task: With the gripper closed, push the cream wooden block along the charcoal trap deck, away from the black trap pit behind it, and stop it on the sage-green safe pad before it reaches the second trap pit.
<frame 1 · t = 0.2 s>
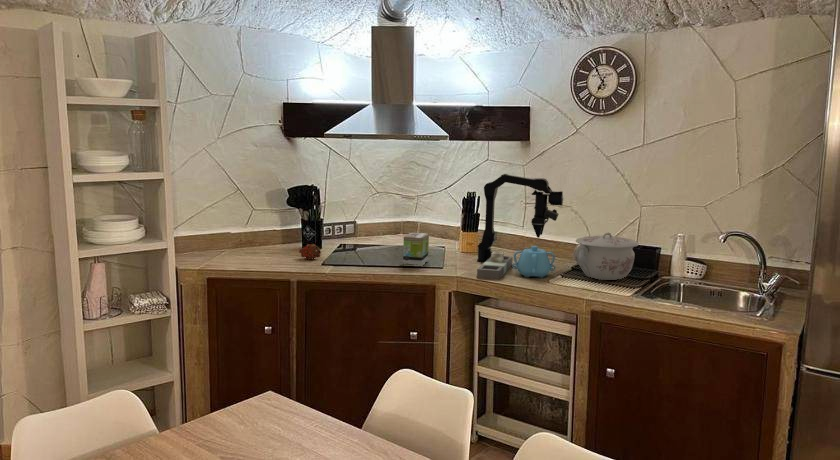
hand: (539, 236, 326), 14 cm above the worktop, fingers open, 9 cm apart
tea box: (415, 264, 327), on the worktop
chamber pot: (604, 278, 301), on the worktop
decorative pot: (533, 275, 305), on the worktop
cream block: (497, 261, 316), point 4 cm above the worktop, touching trap deck
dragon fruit: (310, 259, 336), on the worktop
trap deck: (495, 271, 313), on the worktop
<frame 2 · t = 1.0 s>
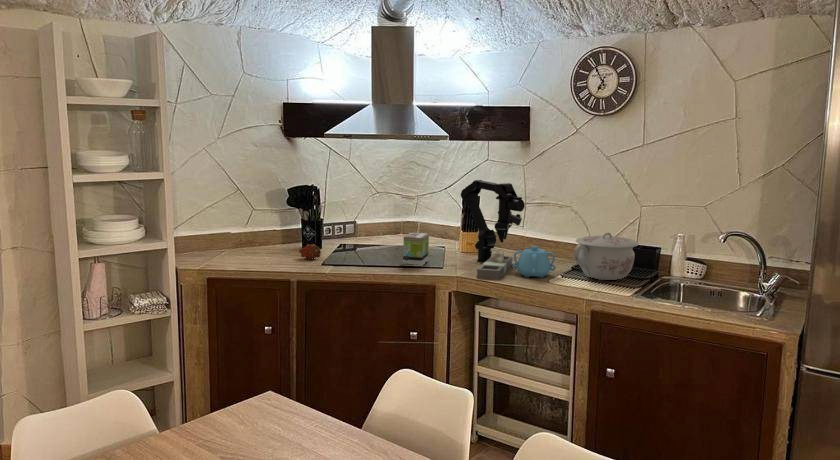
hand: (503, 240, 325), 12 cm above the worktop, fingers open, 9 cm apart
nothing on the worktop moved.
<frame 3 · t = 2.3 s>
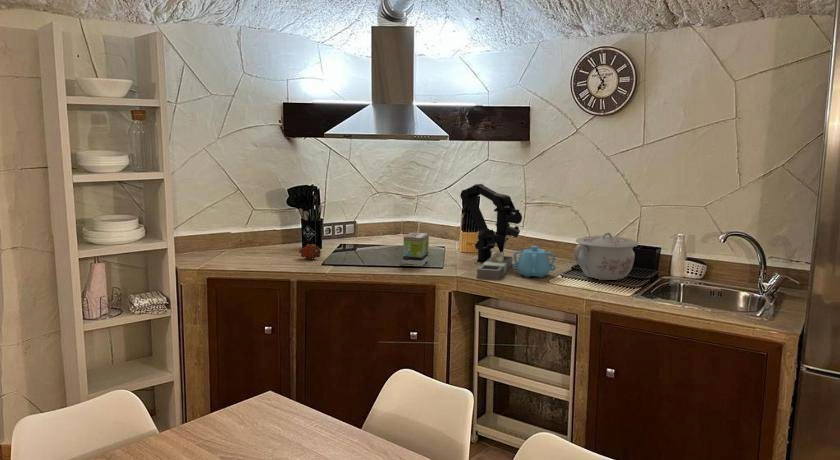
hand: (501, 252, 326), 6 cm above the worktop, fingers closed
nothing on the worktop moved.
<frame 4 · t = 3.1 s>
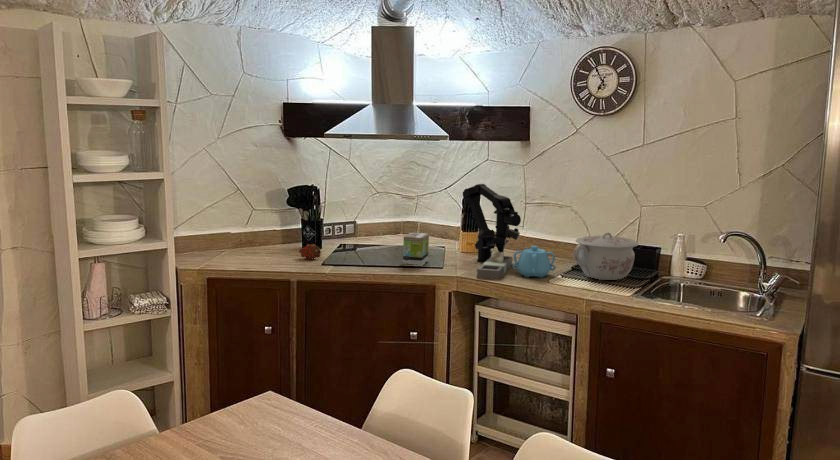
hand: (501, 255, 325), 5 cm above the worktop, fingers closed
nothing on the worktop moved.
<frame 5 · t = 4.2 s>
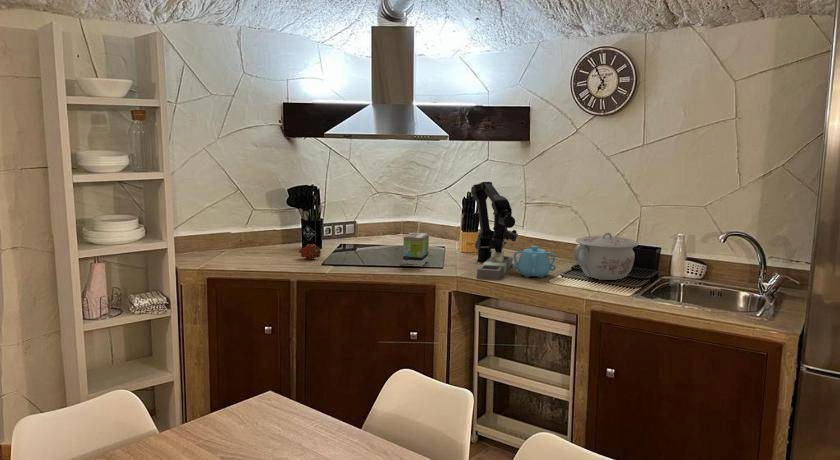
hand: (499, 257, 320), 5 cm above the worktop, fingers closed
cream block: (497, 261, 316), point 4 cm above the worktop, touching gripper, trap deck
everything else where it was.
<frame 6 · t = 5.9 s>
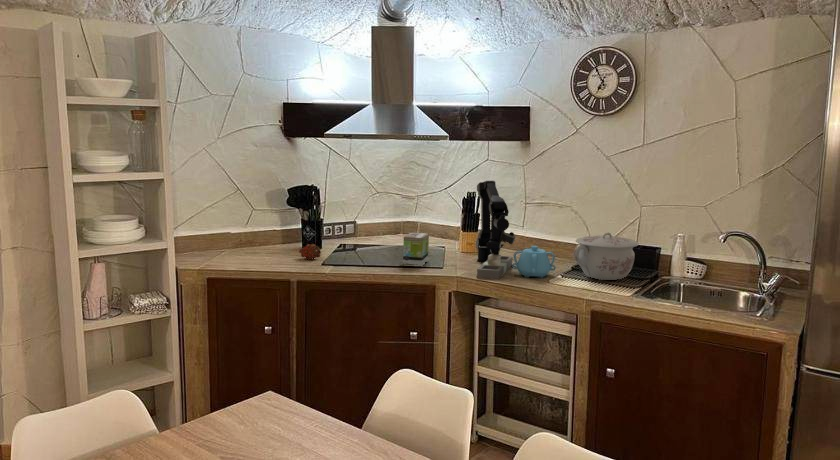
hand: (496, 260, 313), 5 cm above the worktop, fingers closed
cream block: (494, 263, 309), point 4 cm above the worktop, touching gripper, trap deck
everything else where it was.
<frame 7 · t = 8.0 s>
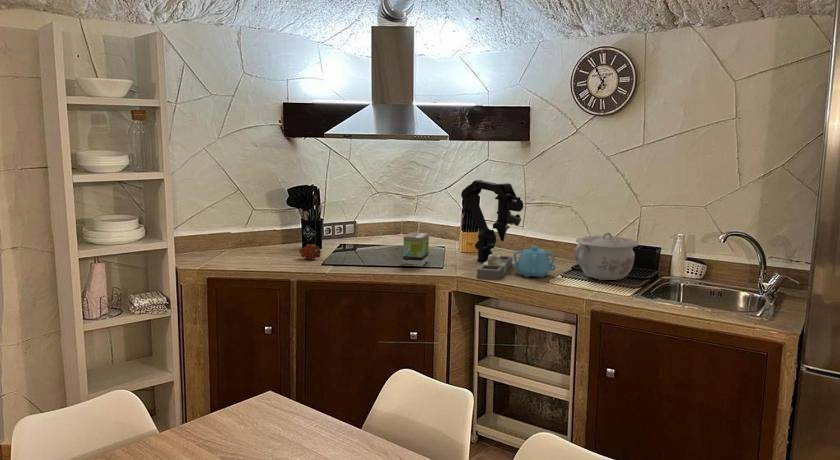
hand: (502, 241, 325), 12 cm above the worktop, fingers closed
cream block: (494, 263, 309), point 4 cm above the worktop, touching trap deck
everything else where it was.
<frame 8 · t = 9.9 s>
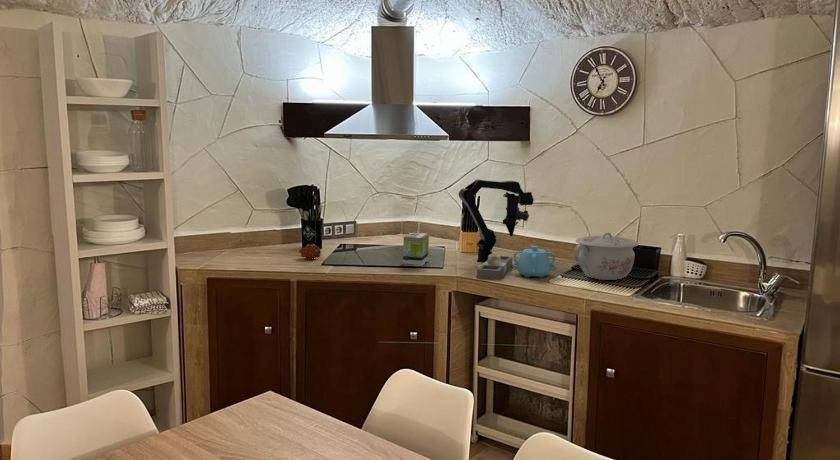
hand: (511, 236, 339), 12 cm above the worktop, fingers closed
nothing on the worktop moved.
at the end: cream block inside the target area (0.5 cm from its centre), point 4.0 cm above the worktop; cream block tilted 0° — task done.
